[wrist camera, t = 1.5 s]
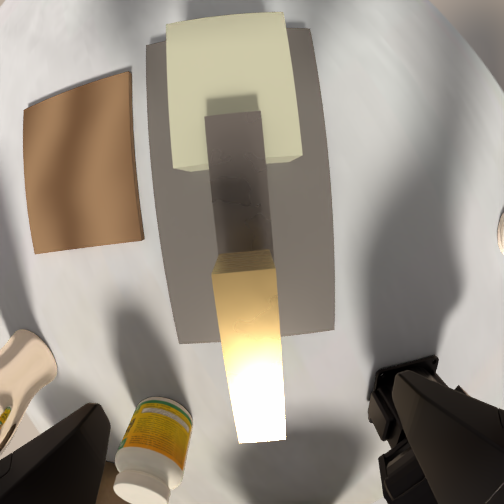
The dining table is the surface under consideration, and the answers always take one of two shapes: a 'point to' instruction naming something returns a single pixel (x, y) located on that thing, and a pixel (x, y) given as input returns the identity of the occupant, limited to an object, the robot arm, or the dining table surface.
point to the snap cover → (230, 83)
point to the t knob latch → (246, 274)
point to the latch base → (281, 209)
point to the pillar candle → (109, 486)
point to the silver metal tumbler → (21, 379)
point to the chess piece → (501, 234)
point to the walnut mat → (82, 167)
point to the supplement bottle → (153, 452)
